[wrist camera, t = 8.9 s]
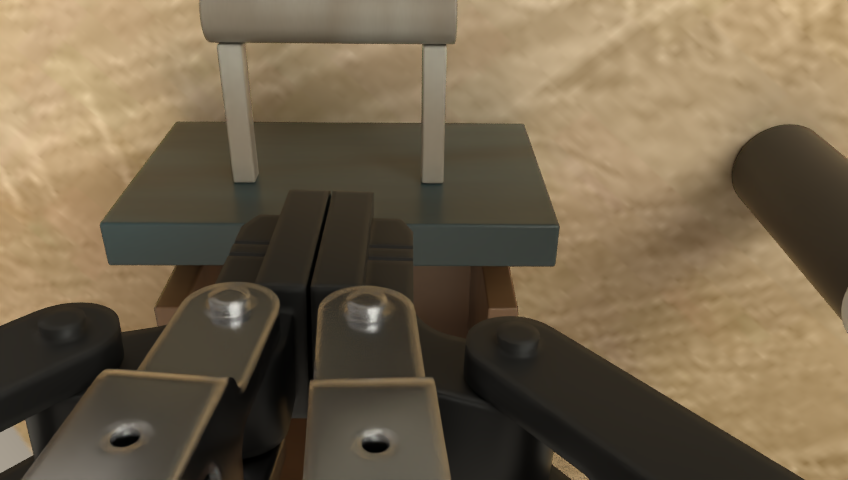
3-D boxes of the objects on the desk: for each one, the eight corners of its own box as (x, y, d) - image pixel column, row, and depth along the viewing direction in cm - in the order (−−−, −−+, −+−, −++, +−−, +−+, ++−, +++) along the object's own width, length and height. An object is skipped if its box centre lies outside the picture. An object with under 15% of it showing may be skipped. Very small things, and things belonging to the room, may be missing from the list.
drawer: (149, -49, 22) (49, 5, 16) (537, -46, 22) (584, 10, 16) (221, 410, 30) (173, 560, 24) (501, 411, 30) (523, 558, 24)
